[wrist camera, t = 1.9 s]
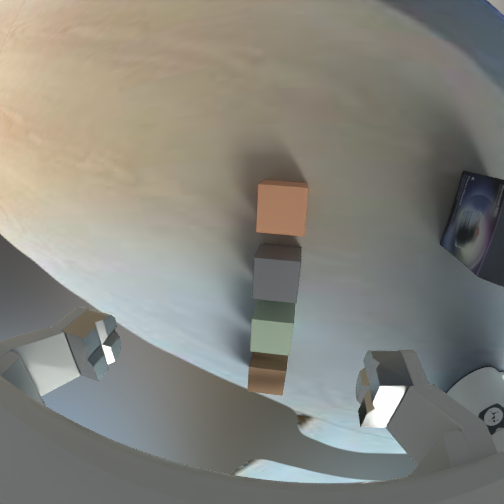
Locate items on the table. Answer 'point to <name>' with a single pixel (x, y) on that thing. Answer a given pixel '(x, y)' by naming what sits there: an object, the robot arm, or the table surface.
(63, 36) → the table surface
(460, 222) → the small box
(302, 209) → the terracotta block
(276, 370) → the walnut block
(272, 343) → the sage block
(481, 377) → the robot arm
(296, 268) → the charcoal block
